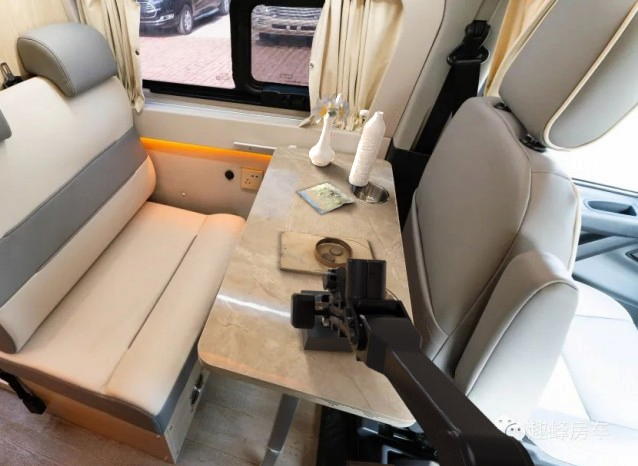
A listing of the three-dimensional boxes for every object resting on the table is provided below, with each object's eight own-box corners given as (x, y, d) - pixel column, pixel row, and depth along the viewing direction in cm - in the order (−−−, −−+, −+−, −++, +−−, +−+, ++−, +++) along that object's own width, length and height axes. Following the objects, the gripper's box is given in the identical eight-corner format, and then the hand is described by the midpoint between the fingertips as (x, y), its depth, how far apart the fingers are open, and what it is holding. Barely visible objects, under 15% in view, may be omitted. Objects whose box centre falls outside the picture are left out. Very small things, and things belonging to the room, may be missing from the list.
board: (368, 240, 94) (372, 232, 92) (379, 281, 83) (383, 273, 80) (280, 232, 97) (282, 224, 94) (279, 271, 85) (281, 262, 83)
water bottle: (366, 178, 118) (389, 109, 102) (368, 187, 114) (392, 117, 97) (341, 175, 120) (360, 106, 103) (342, 184, 115) (361, 114, 99)
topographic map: (328, 182, 116) (329, 178, 115) (354, 202, 107) (356, 198, 106) (296, 193, 113) (296, 189, 112) (321, 214, 103) (321, 210, 102)
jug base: (351, 352, 69) (361, 334, 64) (303, 349, 69) (309, 331, 64) (340, 305, 77) (347, 286, 73) (297, 302, 78) (302, 284, 73)
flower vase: (338, 153, 132) (355, 89, 115) (334, 176, 119) (351, 107, 103) (306, 148, 136) (317, 85, 119) (298, 170, 123) (309, 102, 106)
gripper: (417, 274, 53) (376, 268, 68) (300, 269, 54) (286, 264, 69) (416, 344, 52) (375, 322, 68) (297, 337, 53) (284, 317, 69)
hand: (330, 305), depth 68 cm, fingers closed, pressing on lid button
